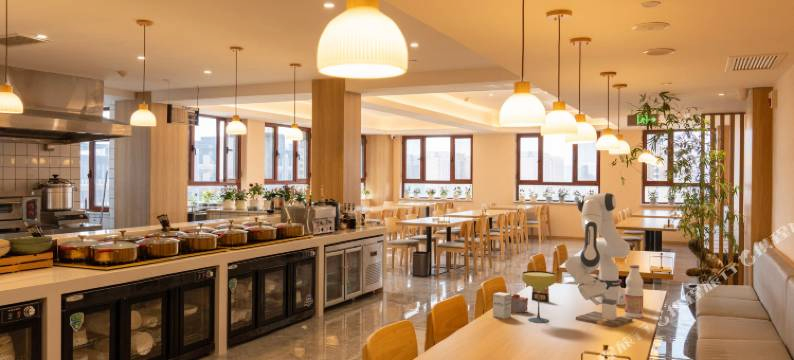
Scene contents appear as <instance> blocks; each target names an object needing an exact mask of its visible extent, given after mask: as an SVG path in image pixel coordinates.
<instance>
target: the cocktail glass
mask: <svg viewBox="0 0 794 360" xmlns="http://www.w3.org/2000/svg"><path fill="white" fill-rule="evenodd" d="M521 279H522V281H523V283H525V284H527V285H528V286H530V287H531V288H532V287H533V288H534V289H535V290H536V291H537V292H538V301H537V315H536V317H529V318H527V320H528V321H529V322H530V323H537V324H546V323H549V322H550V321H549V319H547V318H544V317H541V315H540V313H541V312H540V301H539V295H540V292H541V291H542V290H543V289H544V288H546V287H548V288H549V287H551V286H553V285H554V284H555V283H556V282H557V280H558V279H557V274H556V273H555V272H551V271H545V270H528V271H527V270H526V271H523V272H521Z"/></svg>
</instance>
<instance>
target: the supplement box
mask: <svg viewBox="0 0 794 360" xmlns="http://www.w3.org/2000/svg"><path fill="white" fill-rule="evenodd" d="M492 296H493V297H492V298H493V300H492V317H495V318H498V319H503V320H504V319H507V318H508V319H509V318H511V316H512V312H511V296H512V293H508V292H501V291H498V292H496V293H495V292H494V293H493V295H492Z"/></svg>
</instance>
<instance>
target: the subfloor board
mask: <svg viewBox="0 0 794 360" xmlns="http://www.w3.org/2000/svg"><path fill="white" fill-rule="evenodd" d="M575 320H576V321H581V322H585V323H591V324H595V325H601V326H604V327H605V326H606V327H610V328H617V327H621V326H623V325H626V324H627V323H628V324H629V323H632V322H633V318H632V317H627V316H620V315H617V314H616V319H615V320H609V319H604V318H602V311H596V310H595V311H591V312H587V313H585V314H580V315H577V316H575Z"/></svg>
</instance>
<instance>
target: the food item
mask: <svg viewBox="0 0 794 360" xmlns="http://www.w3.org/2000/svg"><path fill="white" fill-rule="evenodd" d="M528 302H529V297H524V296H523V297H522V296H521V294H517V293H514V294H513V295H511V313H518V314H519V313H520V314H521V313H522V314H524V313H526V312H528Z"/></svg>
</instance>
